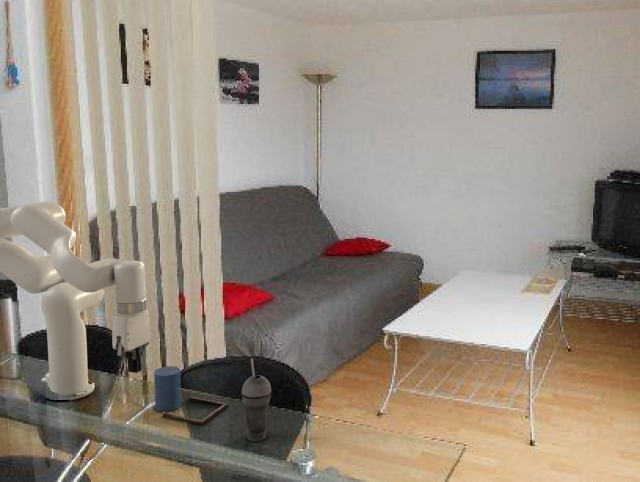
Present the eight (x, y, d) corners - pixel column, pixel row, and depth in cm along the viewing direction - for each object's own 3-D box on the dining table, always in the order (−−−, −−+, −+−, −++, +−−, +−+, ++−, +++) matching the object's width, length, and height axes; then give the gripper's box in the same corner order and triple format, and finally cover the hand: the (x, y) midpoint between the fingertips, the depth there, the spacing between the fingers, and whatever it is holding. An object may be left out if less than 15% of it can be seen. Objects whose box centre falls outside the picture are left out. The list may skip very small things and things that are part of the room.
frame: (162, 417, 158) (162, 414, 157) (191, 399, 169) (191, 396, 169) (201, 425, 154) (201, 422, 154) (228, 406, 165) (228, 403, 165)
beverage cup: (264, 445, 145) (264, 366, 142) (236, 442, 146) (235, 362, 143) (276, 431, 152) (276, 355, 149) (249, 428, 153) (248, 352, 150)
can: (149, 409, 162) (148, 373, 161) (166, 399, 168) (165, 364, 167) (170, 413, 160) (169, 377, 159) (186, 403, 166) (185, 368, 165)
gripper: (139, 298, 172) (143, 360, 175) (98, 312, 158) (103, 379, 160) (161, 300, 170) (164, 363, 172) (122, 315, 156) (125, 383, 158)
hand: (134, 371), depth 166 cm, fingers closed
